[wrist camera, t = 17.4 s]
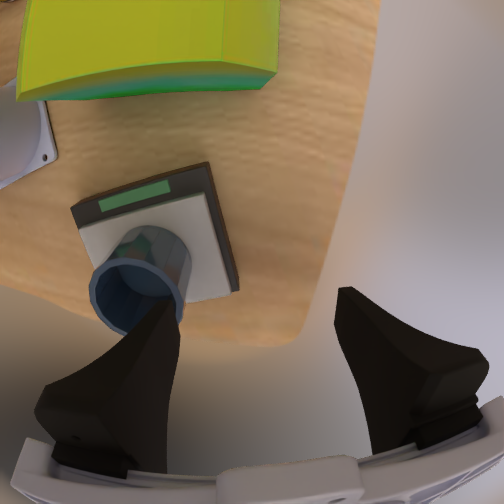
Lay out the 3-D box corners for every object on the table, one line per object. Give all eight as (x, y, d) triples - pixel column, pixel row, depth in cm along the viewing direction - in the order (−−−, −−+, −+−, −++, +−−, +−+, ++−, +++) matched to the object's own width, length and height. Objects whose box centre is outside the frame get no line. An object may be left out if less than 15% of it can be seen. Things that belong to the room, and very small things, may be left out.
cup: (115, 290, 20) (94, 331, 16) (114, 219, 17) (85, 250, 13) (188, 302, 20) (180, 347, 16) (196, 231, 18) (187, 267, 14)
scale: (122, 300, 23) (113, 319, 21) (80, 200, 19) (64, 211, 17) (239, 277, 23) (239, 297, 20) (208, 161, 19) (205, 167, 17)
